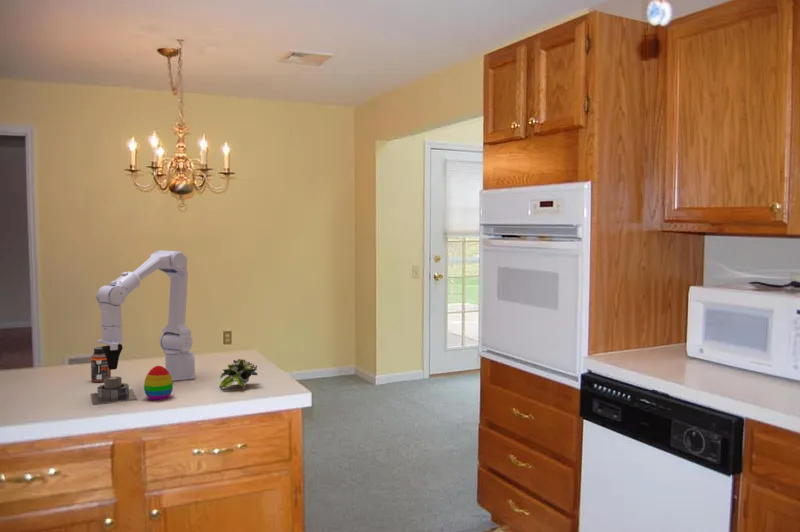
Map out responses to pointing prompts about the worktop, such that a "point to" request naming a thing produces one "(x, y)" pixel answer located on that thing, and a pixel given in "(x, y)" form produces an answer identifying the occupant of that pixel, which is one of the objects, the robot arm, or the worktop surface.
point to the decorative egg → (158, 384)
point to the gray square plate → (113, 394)
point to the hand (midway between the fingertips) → (112, 369)
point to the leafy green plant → (238, 373)
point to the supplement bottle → (99, 366)
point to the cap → (112, 383)
